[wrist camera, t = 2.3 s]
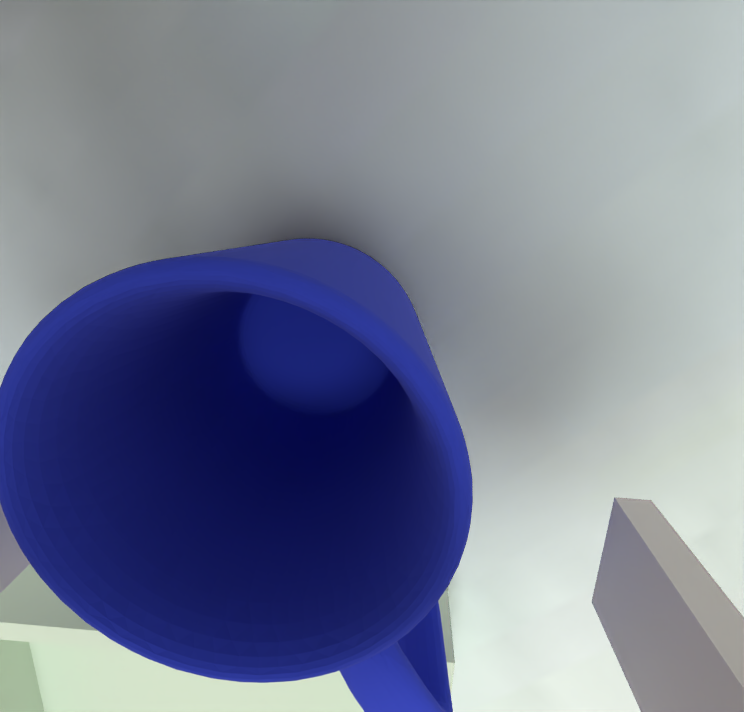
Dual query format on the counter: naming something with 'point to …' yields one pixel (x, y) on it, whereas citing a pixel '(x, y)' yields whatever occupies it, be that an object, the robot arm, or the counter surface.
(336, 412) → the mug
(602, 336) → the counter surface
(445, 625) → the tray
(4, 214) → the counter surface
